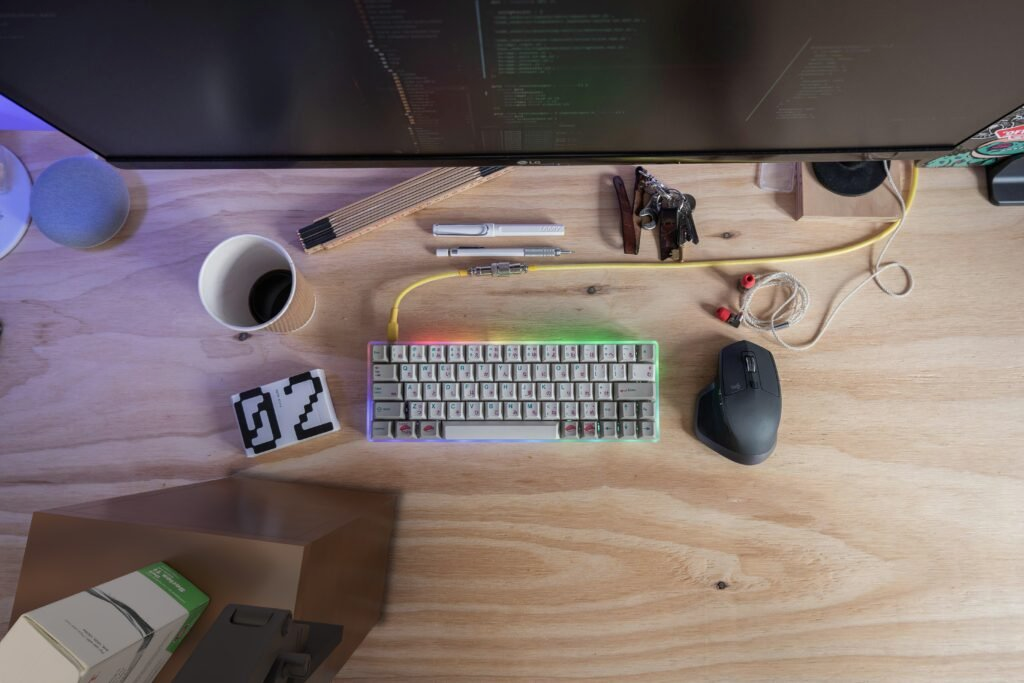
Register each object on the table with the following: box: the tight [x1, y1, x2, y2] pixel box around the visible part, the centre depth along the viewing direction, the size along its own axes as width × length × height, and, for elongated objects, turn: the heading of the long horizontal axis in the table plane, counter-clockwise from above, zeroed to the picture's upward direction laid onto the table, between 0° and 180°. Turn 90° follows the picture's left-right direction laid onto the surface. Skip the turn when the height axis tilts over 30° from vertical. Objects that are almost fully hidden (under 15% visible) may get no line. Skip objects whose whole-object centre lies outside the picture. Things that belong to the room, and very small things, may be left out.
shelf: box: [6, 508, 312, 683], centre depth 43 cm, size 14×20×2 cm
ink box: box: [0, 562, 210, 683], centre depth 36 cm, size 9×5×12 cm, turn 144°
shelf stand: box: [50, 475, 397, 683], centre depth 57 cm, size 14×20×28 cm
